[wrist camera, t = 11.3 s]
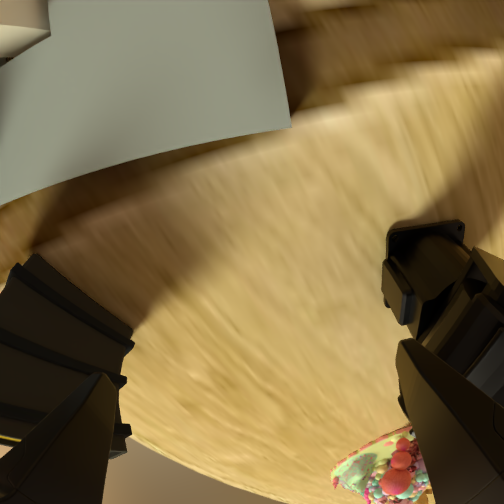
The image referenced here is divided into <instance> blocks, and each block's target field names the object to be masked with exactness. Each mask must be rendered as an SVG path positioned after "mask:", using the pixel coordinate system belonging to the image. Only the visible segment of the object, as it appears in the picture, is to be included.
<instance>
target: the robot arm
mask: <svg viewBox="0 0 504 504" xmlns="http://www.w3.org/2000/svg"><path fill="white" fill-rule="evenodd" d="M459 225H460V226H459ZM458 226H459V228H458V229H457V227H458ZM464 231H465V224H464V223H463V222H462V221H461V220H452V221H445V222H438V223H432V224H425V225H418V226H412V227H405V228H399V229H393V230H390V231H389V232H388V233H387V236H386V259H385V260H384V261H383V264H382V287H381V290H382V292H383V294H384V304H385V306H386V307H387V308H391V310H392V312H393V313H394V315H395V317H396V319H397V321H398V323H399V324H400V325H401V326H402V325H407V327H408V329H409V331H410V333H411V335H412V336H413V338H414V339H413V338H408V339H404V340H401V341H399V343H398V349H397V354H396V368H397V372H398V376H399V389H400V395H399V396H398V402H399V404H400V407H401V409H402V411H403V413H404V414H405V416H406V417H407V419H408V420H409V421H410V423H411V425H412V428H411V429H410V430H409V434H410V435H411V436H413V437H414V438H416V439H417V442H418V445H419V449H420V452H421V455H422V458H423V461H424V464H425V468H426V471H427V474H428V478H429V481H430V484H431V488H432V491H433V495H434V498H435V502H436V504H504V260H503V259H500V258H498V257H496V256H494V255H492V254H490V253H488V252H486V251H484V250H481V249H479V248H477V247H475V246H474V247H473V249H472V251H471V250H470V249H468V248H467V247H466V246H465V245H464V244H463V239H464ZM394 235H396V238H395V239H392V237H393V236H394ZM116 399H117V391H116V388H115V387H114V385H113V384H112V382H111V381H110V379H109V378H108V376H107V375H106V374H105V373H100V372H95V373H92V374H91V375H90V376H89V377H88V378H87V379H86V380H85V381H84V382H82V383H81V384H80V385H79V386H78V387H77V388H76V389H75V390H74V391H73V392H72V393H71V394H70V395H68V396H67V397H66V398H65V399H64V400H63V401H62V402H61V403H60V404H59V405H58V406H57V407H56V408H55V409H54V410H52V411H51V412H50V413H49V414H48V415H47V416H46V417H45V418H44V419H43V420H42V421H41V422H40V423H39V424H38V425H37V426H36V427H34V428H33V429H32V430H31V431H30V432H29V433H28V434H27V435H26V437H24V438H23V439H22V440H21V441H20V442H19V443H18V444H17V445H15V446H14V447H13V448H12V449H11V450H10V451H9V452H8V453H6V454H5V455H4V456H3V457H2V458H0V504H102V499H103V491H104V485H105V478H106V472H107V466H108V460H109V454H110V448H111V443H112V437H113V430H114V419H115V409H116Z"/></svg>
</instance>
